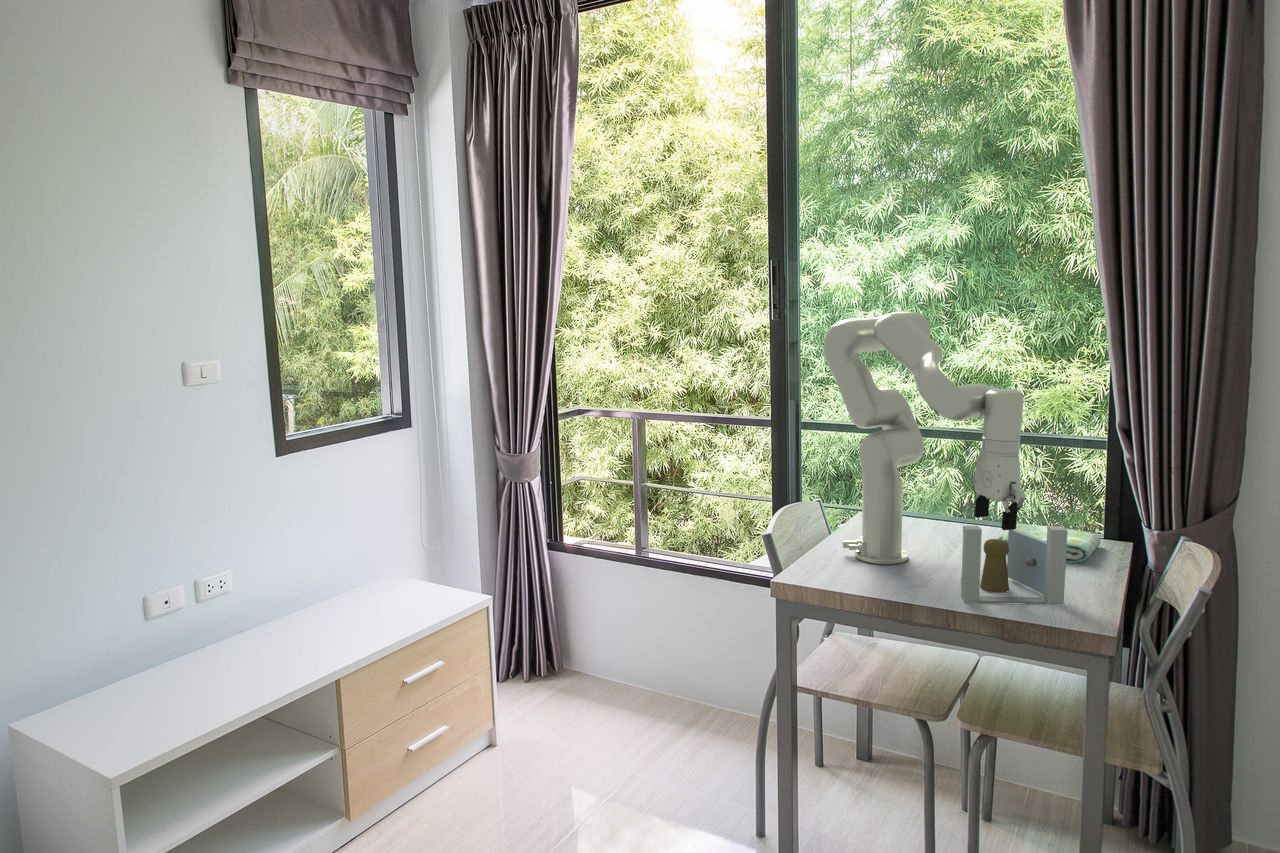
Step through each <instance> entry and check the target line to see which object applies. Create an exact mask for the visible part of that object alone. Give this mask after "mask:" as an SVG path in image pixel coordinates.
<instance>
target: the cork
mask: <svg viewBox="0 0 1280 853" xmlns="http://www.w3.org/2000/svg"><path fill="white" fill-rule="evenodd" d="M983 552H984V554H985V558H984V564H983V569H982V573H981V578H980V589H981V590H982V591H985V592H988V593H993V594H995V593H996V594H1003V592H1005V593H1008V592H1010V584H1009V583H1010V582H1009V578H1008V572H1007V556H1008V552H1009V546H1008V543H1007V542H1006V541H1004V540H1000V539H997V538H990V539H987V540H986V541H984V542H983ZM1007 591H1008V592H1007Z"/></svg>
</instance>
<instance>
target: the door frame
mask: <svg viewBox="0 0 1280 853" xmlns="http://www.w3.org/2000/svg"><path fill="white" fill-rule="evenodd" d="M1046 526H1047V545H1046V566H1045V587H1044V595H1043V597H1041V596H1003V595H997V596H996V595H993V596H991V595H980V591H981V590H980V589H981V588H980V584H981V563H982V562H981V558H982V557H981V556H982V536H983V535H982V532H983V530H982V528H981V527H980V526H979V525H963V527H962V556H961V557H962V558H961V562H962V563H961V584H960V585H961V588H960V589H961V591H960V599H961V600H962V602H963V601H964V602H963V603H964V604H1001V603H1003V604H1004V603H1025V604H1024V605H1047V604H1048V605H1058V604H1065V603H1064V602H1065V588H1066V587H1065V586H1066V567H1067V563H1066V550H1067V531H1068V530H1067V529H1068V528H1065V527H1064V526H1062V525H1061V526H1060V525H1059V526H1056V525H1053V526H1052V525H1049V526H1048V525H1046ZM1046 601H1047V602H1046Z"/></svg>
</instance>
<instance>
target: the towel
mask: <svg viewBox="0 0 1280 853" xmlns="http://www.w3.org/2000/svg"><path fill="white" fill-rule="evenodd" d="M1047 526H1048V525H1036V524H1027V523H1018V522H1017V524H1016V530H1019V531H1021V532H1024V533H1026V534H1029V535H1031V536H1034V537H1036V538H1039V539H1041V540H1044V541H1046V542H1047ZM1066 529H1067V530H1068V531H1067V550H1066V564H1075V563H1082V562H1084V561H1086V560H1087V559H1089V558H1090V557H1091V555H1092V554H1093V553H1094V551H1095V550H1096V549H1097V548H1099V546H1100V544H1101V539H1100V537H1098V536H1097V535H1096V534H1094V533H1091V532H1089V531H1085V530H1080V529H1072V528H1066ZM1008 533H1009V530H1005V531H1004V532H1002V533H1001V534H1000V535H999V536H998V537H997V538H996V539H1000V540H1004V541H1006V542H1007V543H1008Z"/></svg>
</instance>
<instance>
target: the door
mask: <svg viewBox="0 0 1280 853" xmlns="http://www.w3.org/2000/svg"><path fill="white" fill-rule="evenodd" d="M1046 545H1047V542H1046V541H1044V540H1041V539H1039V538H1036V537H1034V536H1031V535H1029V534H1026V533H1024V532H1021V531H1019V530H1016V529H1014V530H1009V533H1008V546H1009V552H1008V554H1007V556H1006V562H1007V572H1008V579H1011V580H1012V581H1015V582H1017V583H1019V584H1021V585H1023V586H1025V587H1027V588H1028V589H1031V590H1033V591H1035V592H1037V593H1039V594H1041V595H1043V596H1044V587H1045V566H1046Z"/></svg>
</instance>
